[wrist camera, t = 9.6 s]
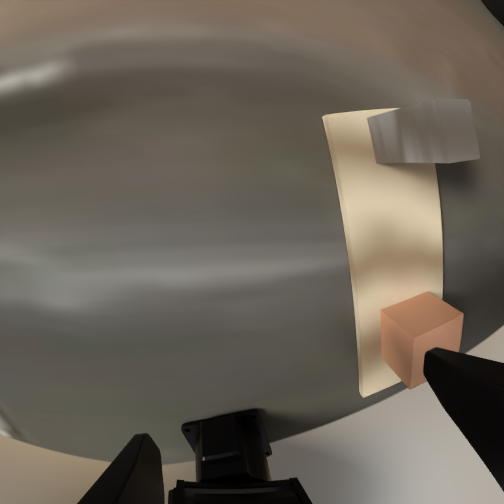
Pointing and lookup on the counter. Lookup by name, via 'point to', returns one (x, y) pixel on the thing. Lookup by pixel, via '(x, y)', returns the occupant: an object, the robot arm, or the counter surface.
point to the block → (417, 334)
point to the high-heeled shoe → (496, 9)
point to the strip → (394, 209)
